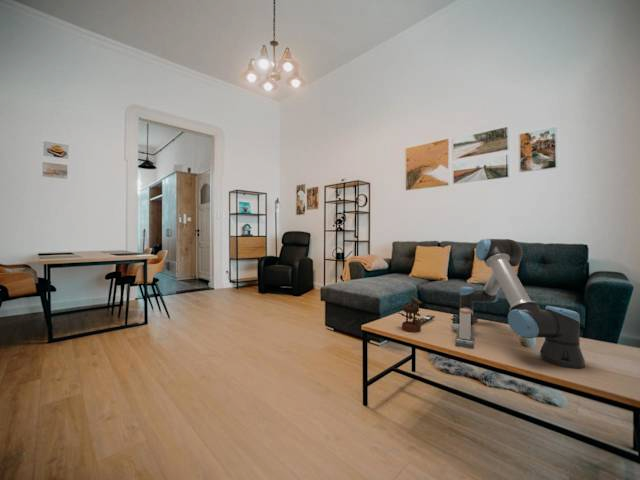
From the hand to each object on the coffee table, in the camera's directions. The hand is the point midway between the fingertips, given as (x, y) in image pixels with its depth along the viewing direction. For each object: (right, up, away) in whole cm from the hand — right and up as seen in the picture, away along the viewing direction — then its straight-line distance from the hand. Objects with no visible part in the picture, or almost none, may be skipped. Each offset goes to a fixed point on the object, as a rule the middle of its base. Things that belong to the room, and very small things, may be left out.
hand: (464, 325), depth 150 cm
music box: (-23, -8, +17) cm, 30 cm away
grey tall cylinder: (-1, -6, -3) cm, 6 cm away
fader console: (-1, -8, -2) cm, 8 cm away
